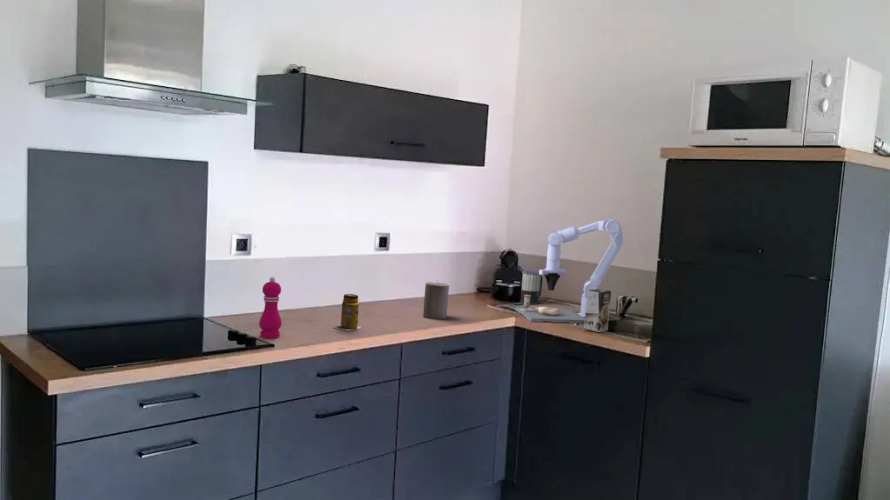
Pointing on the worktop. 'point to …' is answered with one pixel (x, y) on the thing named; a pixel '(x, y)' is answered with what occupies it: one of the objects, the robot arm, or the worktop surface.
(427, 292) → the pillar candle
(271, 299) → the pepper mill
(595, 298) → the coffee box
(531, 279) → the milk frother
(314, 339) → the worktop surface
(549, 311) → the cam dial
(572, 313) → the stand board
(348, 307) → the condiment
